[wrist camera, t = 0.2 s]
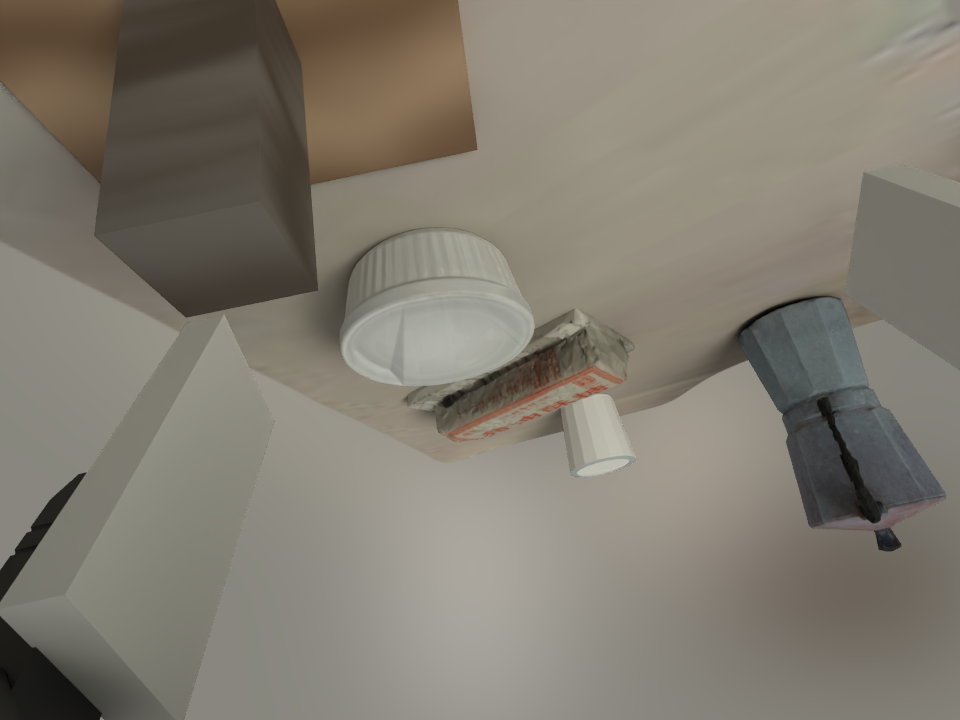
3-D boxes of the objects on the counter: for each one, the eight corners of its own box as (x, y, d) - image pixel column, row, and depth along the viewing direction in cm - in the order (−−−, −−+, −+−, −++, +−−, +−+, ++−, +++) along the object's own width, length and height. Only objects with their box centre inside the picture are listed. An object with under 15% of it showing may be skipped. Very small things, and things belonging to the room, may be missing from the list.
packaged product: (592, 358, 42) (649, 387, 49) (575, 300, 44) (632, 336, 51) (410, 442, 51) (481, 455, 58) (403, 390, 53) (473, 410, 60)
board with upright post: (-295, -268, 13) (-588, 68, 9) (398, -418, 13) (490, -161, 9) (138, 200, 28) (118, 423, 23) (472, 130, 28) (523, 340, 23)
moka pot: (755, 360, 61) (840, 563, 52) (701, 318, 49) (799, 568, 41) (856, 320, 56) (969, 536, 47) (823, 262, 44) (963, 533, 36)
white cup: (547, 404, 61) (563, 470, 58) (613, 385, 60) (633, 451, 57) (562, 422, 67) (577, 482, 64) (621, 405, 66) (640, 466, 63)
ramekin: (293, 263, 34) (297, 344, 31) (470, 181, 30) (489, 266, 28) (397, 335, 43) (406, 402, 41) (540, 279, 40) (558, 348, 38)
